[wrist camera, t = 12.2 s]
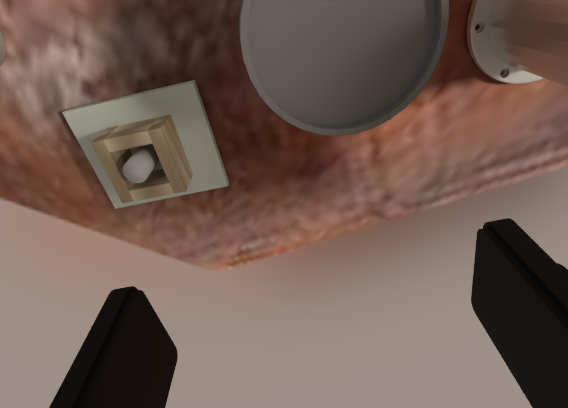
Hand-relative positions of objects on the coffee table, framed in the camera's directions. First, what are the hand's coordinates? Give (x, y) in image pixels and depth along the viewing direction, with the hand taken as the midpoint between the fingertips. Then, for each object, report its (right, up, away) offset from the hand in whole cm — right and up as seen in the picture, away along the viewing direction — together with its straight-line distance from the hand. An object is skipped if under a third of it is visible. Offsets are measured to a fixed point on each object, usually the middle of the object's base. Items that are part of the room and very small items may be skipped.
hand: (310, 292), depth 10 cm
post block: (-15, +9, +30) cm, 35 cm away
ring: (-15, +8, +29) cm, 34 cm away
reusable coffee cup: (+2, +20, +24) cm, 31 cm away
